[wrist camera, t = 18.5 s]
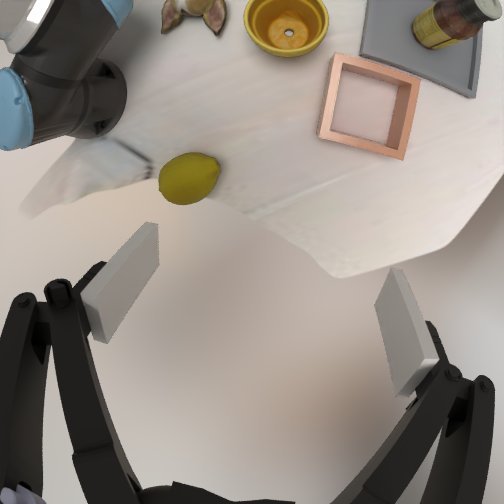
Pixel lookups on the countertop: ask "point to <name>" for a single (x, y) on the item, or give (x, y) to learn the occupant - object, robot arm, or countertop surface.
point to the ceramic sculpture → (194, 13)
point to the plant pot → (286, 25)
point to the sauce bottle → (453, 21)
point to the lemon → (188, 178)
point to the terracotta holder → (401, 111)
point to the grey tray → (419, 46)
